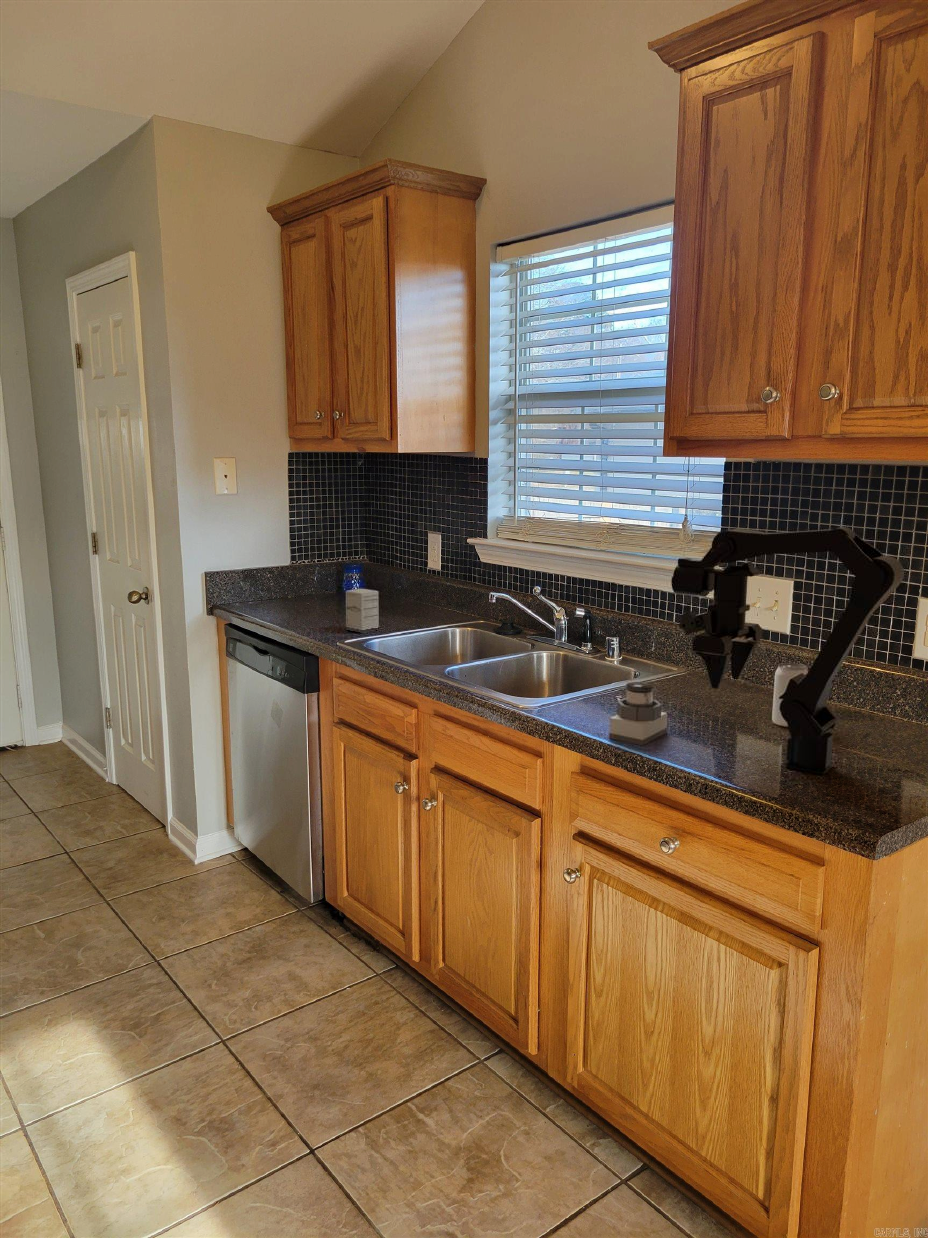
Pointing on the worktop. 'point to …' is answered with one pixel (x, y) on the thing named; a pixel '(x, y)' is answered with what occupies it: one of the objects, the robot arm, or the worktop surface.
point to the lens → (639, 694)
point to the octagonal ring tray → (638, 723)
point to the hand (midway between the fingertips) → (725, 683)
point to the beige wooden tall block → (362, 609)
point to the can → (784, 687)
